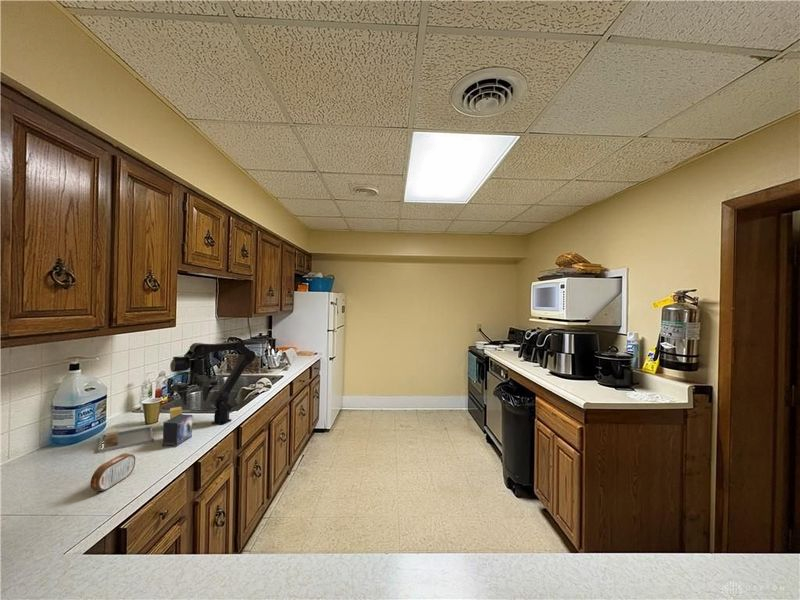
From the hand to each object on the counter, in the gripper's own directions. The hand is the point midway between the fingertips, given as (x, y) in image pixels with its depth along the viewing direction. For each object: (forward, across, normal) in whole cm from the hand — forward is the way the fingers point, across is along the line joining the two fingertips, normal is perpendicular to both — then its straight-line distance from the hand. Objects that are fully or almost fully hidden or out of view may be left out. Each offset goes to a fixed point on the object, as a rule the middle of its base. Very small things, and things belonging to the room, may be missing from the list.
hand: (194, 403), depth 159 cm
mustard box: (+12, -1, +12) cm, 18 cm away
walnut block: (+14, -26, +13) cm, 32 cm away
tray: (+14, -20, +14) cm, 28 cm away
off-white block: (+13, -24, +19) cm, 33 cm away
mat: (+13, -1, +12) cm, 18 cm away
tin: (+17, -39, -22) cm, 47 cm away
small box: (+14, -10, -6) cm, 18 cm away
